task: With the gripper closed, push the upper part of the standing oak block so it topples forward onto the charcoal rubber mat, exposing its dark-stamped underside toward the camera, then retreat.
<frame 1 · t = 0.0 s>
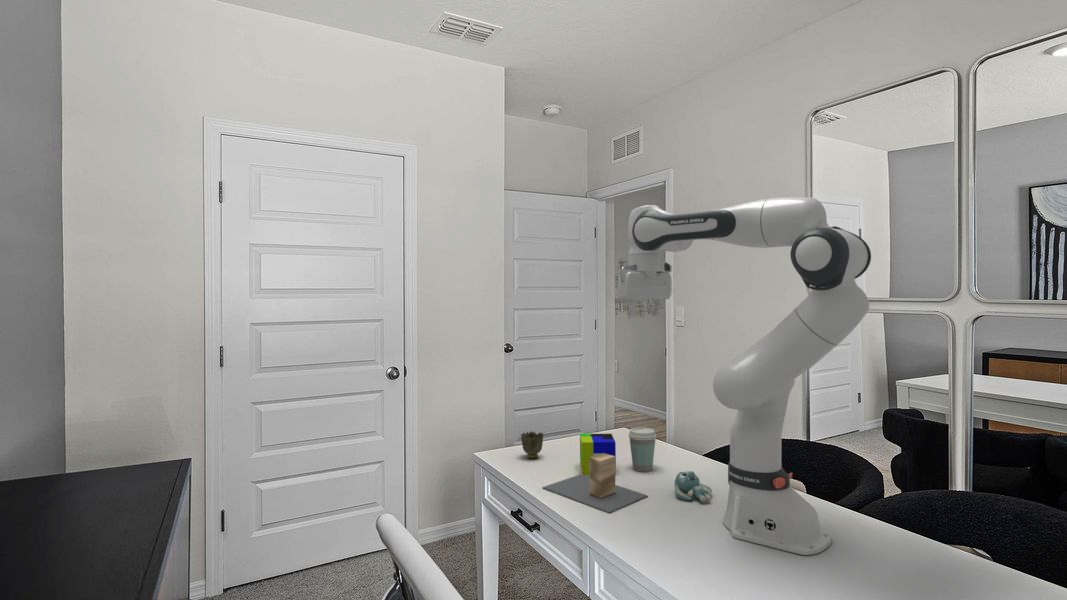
hand: (645, 316, 148), 48 cm above the table, fingers open, 8 cm apart
mat: (594, 492, 148), on the table
coffee cup: (642, 469, 168), on the table
oak block: (602, 494, 146), resting on mat
stuffed animal: (693, 497, 145), on the table
puzzle toy: (597, 470, 167), on the table
olive cup-shaped piece: (532, 458, 180), on the table
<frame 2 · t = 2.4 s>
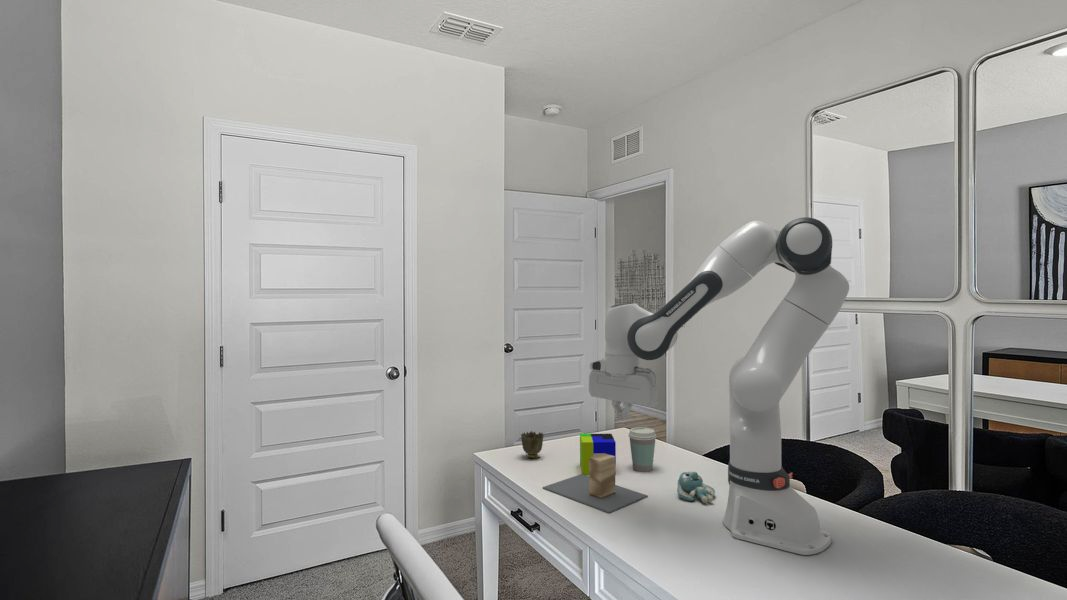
hand: (622, 418, 141), 22 cm above the table, fingers closed
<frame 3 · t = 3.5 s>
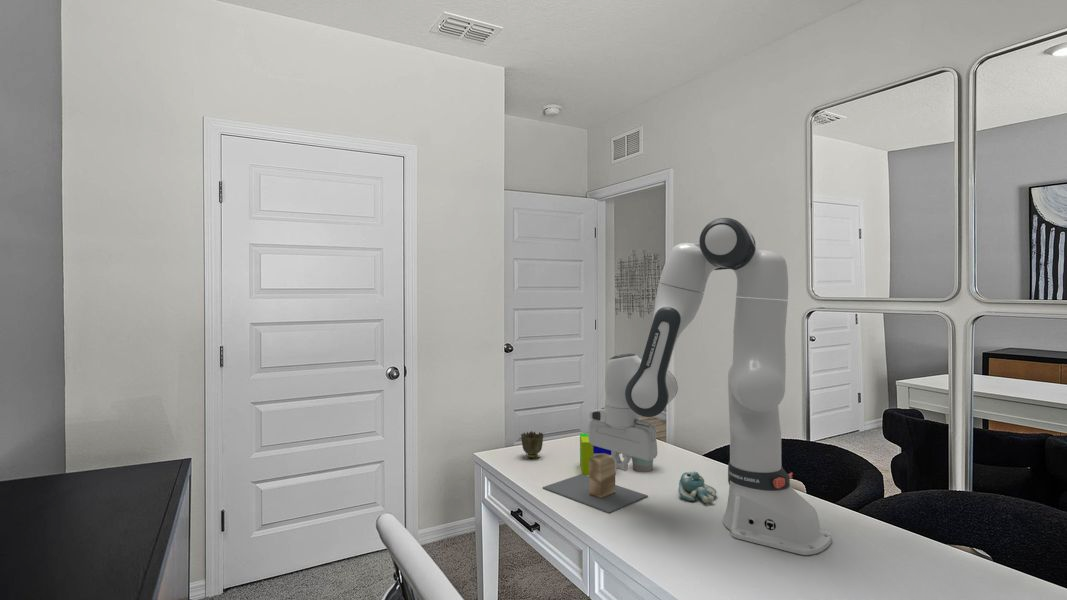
hand: (621, 469, 141), 9 cm above the table, fingers closed
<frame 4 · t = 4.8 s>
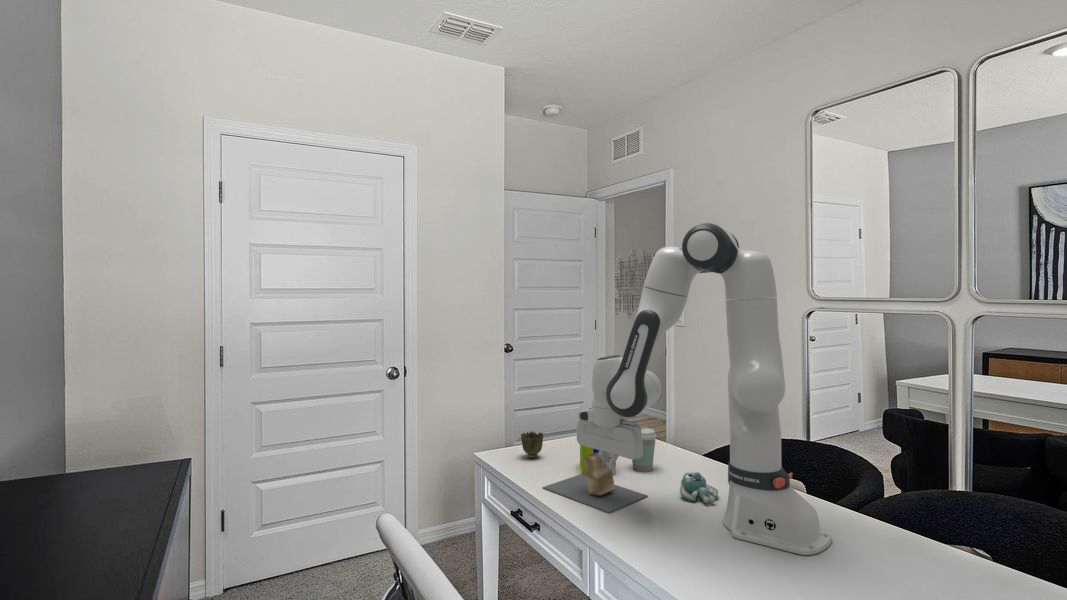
hand: (608, 468, 144), 8 cm above the table, fingers closed
oak block: (602, 492, 146), point 1 cm above the table, tilted 11°, touching mat
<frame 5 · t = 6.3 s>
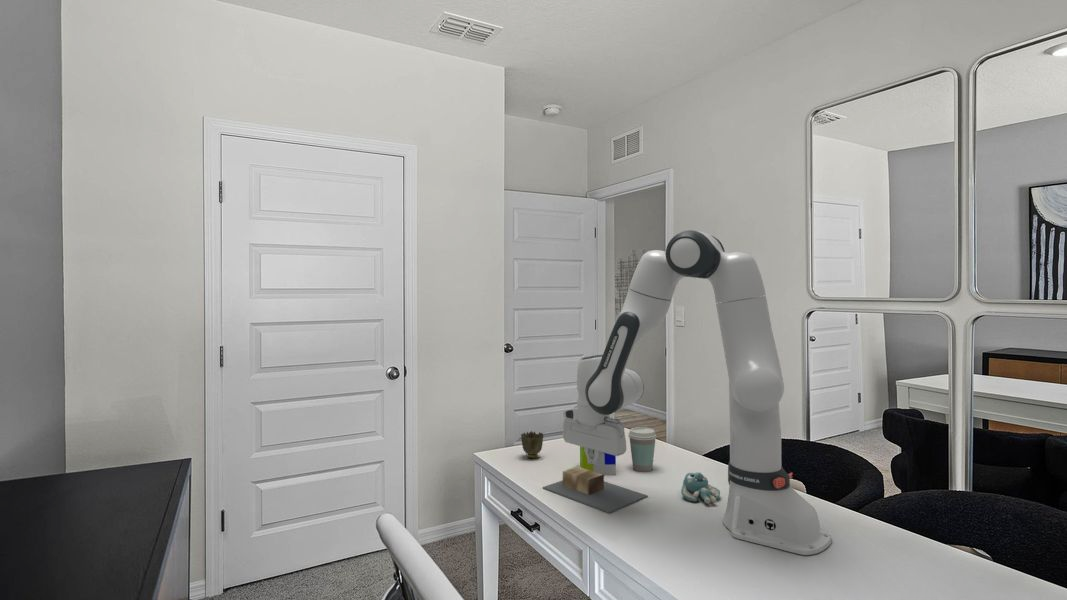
hand: (593, 464, 148), 8 cm above the table, fingers closed
oak block: (596, 484, 147), point 2 cm above the table, tilted 90°, touching mat
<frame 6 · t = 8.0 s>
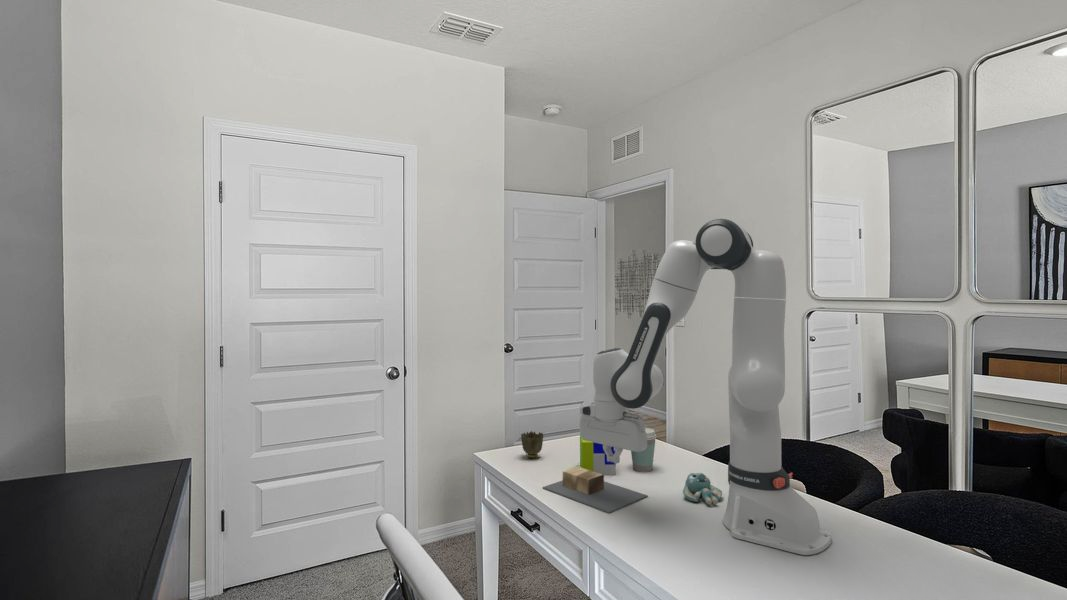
hand: (613, 462, 143), 10 cm above the table, fingers closed
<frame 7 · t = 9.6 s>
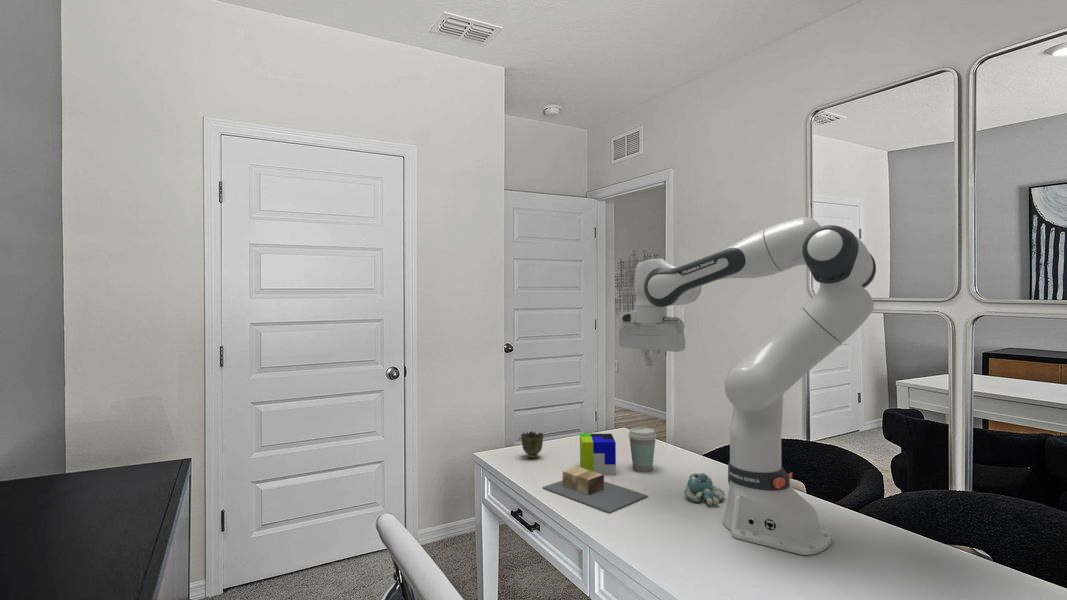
hand: (651, 365, 153), 34 cm above the table, fingers closed
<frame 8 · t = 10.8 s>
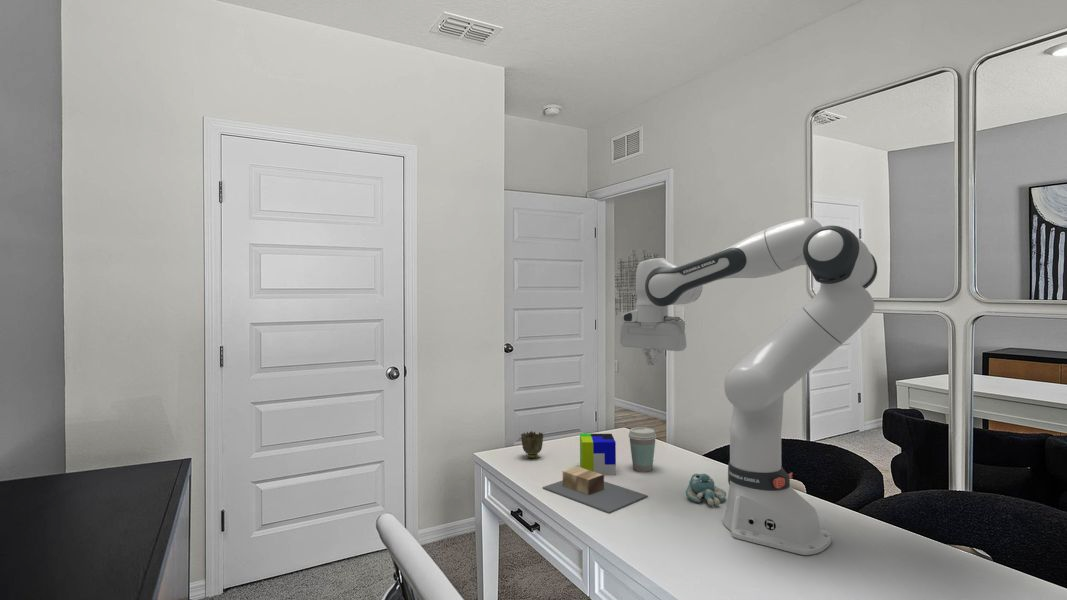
hand: (652, 365, 153), 34 cm above the table, fingers closed
at the end: oak block tilted 90°; oak block inside the target area (2.0 cm from its centre), point 2.4 cm above the table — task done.
